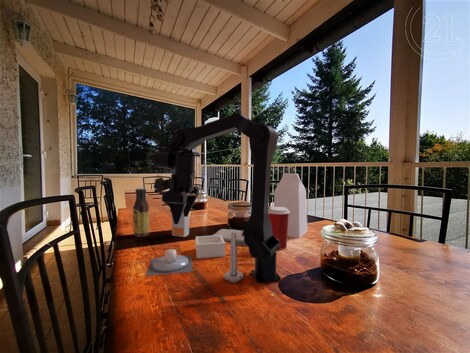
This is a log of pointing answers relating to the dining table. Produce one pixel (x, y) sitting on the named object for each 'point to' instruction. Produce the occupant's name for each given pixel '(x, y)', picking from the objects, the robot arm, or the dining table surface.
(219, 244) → the dish
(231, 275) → the screw
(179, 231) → the skincare box
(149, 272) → the mat
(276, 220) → the paper cup
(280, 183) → the milk
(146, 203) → the sauce bottle
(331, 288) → the dining table surface
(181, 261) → the lid
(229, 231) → the washcloth
